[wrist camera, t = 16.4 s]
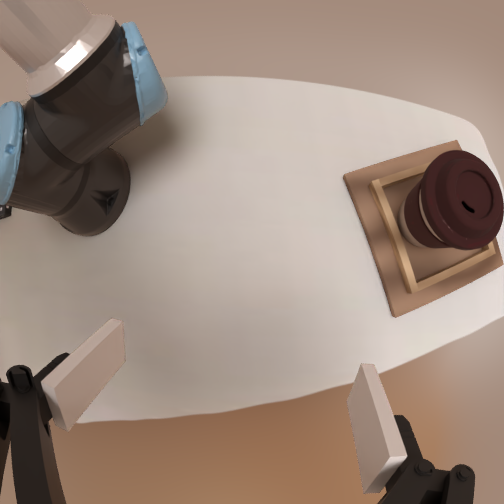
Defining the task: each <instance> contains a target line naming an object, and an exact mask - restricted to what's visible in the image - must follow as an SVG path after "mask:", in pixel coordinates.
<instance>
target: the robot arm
mask: <svg viewBox="0 0 504 504" xmlns="http://www.w3.org/2000/svg"><path fill="white" fill-rule="evenodd" d="M0 48H1V49H2V50H3V51H4V52H5V53H6V54H8V55H9V56H10V57H11V58H12V59H13V60H14V61H15V62H16V63H17V64H18V65H19V66H20V67H21V68H22V69H23V70H25V71H26V72H27V93H28V95H29V96H30V97H31V99H30V100H29V101H28V102H27V103H26V104H25V105H23V106H22V105H21V104H20V103H19V102H13V101H10V102H7V103H4V104H3V105H2V106H1V107H0V205H7V206H11V207H15V208H19V209H23V210H27V211H32V212H36V213H40V214H44V215H48V216H51V217H52V218H53V219H55V220H56V221H58V222H59V223H60V224H61V225H62V226H63V227H64V228H65V229H66V230H68V231H69V232H71V233H74V234H78V235H82V236H93V235H97V234H99V233H101V232H103V231H105V230H106V229H108V228H109V227H110V226H111V225H112V224H113V223H114V222H115V221H116V219H117V218H118V217H119V215H120V214H121V212H122V210H123V208H124V206H125V204H126V201H127V198H128V194H129V189H130V174H129V169H128V166H127V164H126V162H125V160H124V159H123V157H122V156H121V155H120V154H119V153H117V152H116V151H114V150H113V149H111V148H109V146H110V145H112V144H113V143H114V142H116V141H117V140H119V139H120V138H121V137H123V136H124V135H126V134H127V133H128V132H130V131H131V130H133V129H134V128H136V127H137V126H139V125H140V126H141V125H143V124H144V122H145V121H146V120H147V119H149V118H150V117H151V116H153V115H154V114H156V113H157V112H159V111H160V110H161V109H162V108H163V107H164V106H165V104H166V102H167V99H168V94H167V91H166V88H165V86H164V84H163V82H162V79H161V77H160V75H159V73H158V71H157V69H156V66H155V64H154V62H153V60H152V58H151V56H150V54H149V52H148V50H147V47H146V45H145V43H144V41H143V38H142V37H141V34H140V32H139V30H138V28H137V26H136V24H135V23H134V22H128V23H124V24H122V26H121V27H120V26H119V24H118V23H117V22H116V20H115V19H114V18H113V16H111V15H96V14H92V13H90V11H89V10H88V9H87V7H86V6H85V5H84V3H83V2H82V1H81V0H0ZM125 361H126V359H125V347H124V331H123V321H121V320H117V319H113V318H111V319H110V320H109V321H107V322H106V323H105V324H104V325H103V326H102V327H101V328H99V329H98V330H97V331H96V332H95V333H94V334H93V335H92V336H90V337H89V338H88V339H87V340H86V341H85V342H84V343H83V344H81V345H80V346H79V347H78V348H77V349H76V350H75V351H74V352H73V353H71V354H68V353H63V354H61V355H59V356H57V357H56V358H55V359H53V360H52V361H51V362H50V363H49V364H48V365H47V367H44V368H43V369H42V370H41V371H40V372H39V373H38V374H37V375H35V376H34V377H33V376H32V372H31V369H30V368H29V367H27V366H24V365H16V366H13V367H11V368H10V369H9V370H8V371H7V373H6V376H7V379H8V382H9V383H5V382H1V379H0V493H1V486H2V480H3V474H4V469H5V464H6V459H7V453H8V449H9V444H10V441H11V456H12V468H13V477H14V486H15V492H16V499H17V504H66V501H65V497H64V494H63V490H62V486H61V482H60V478H59V473H58V469H57V464H56V459H55V454H54V449H53V443H52V437H51V430H50V425H49V422H48V421H49V420H50V419H51V418H53V420H54V422H55V425H56V426H58V427H60V428H62V429H64V430H66V431H69V430H70V429H71V427H72V426H73V425H74V423H75V422H76V421H77V420H78V419H79V417H80V416H81V415H82V414H83V412H84V411H85V410H86V409H87V407H88V406H89V405H90V404H91V402H92V401H93V400H94V399H95V397H96V396H97V395H98V394H99V393H100V391H101V390H102V389H103V388H104V386H105V385H106V384H107V383H108V382H109V380H110V379H111V378H112V377H113V375H114V374H115V373H116V372H117V371H118V369H119V368H120V367H121V366H122V365H123V363H124V362H125ZM347 405H348V410H349V415H350V420H351V425H352V430H353V436H354V441H355V446H356V452H357V457H358V463H359V469H360V475H361V481H362V487H363V493H364V494H365V493H380V491H381V490H382V489H383V488H384V487H386V491H387V493H386V494H385V495H384V496H383V498H382V499H381V500H380V501H379V502H378V504H473V498H474V486H475V474H474V472H473V470H472V469H471V468H470V467H468V466H466V465H462V464H459V465H456V466H455V467H454V468H452V470H451V471H445V470H438V469H435V467H434V465H433V464H432V463H431V462H429V461H428V460H426V459H423V457H422V454H421V452H420V449H419V446H418V444H417V441H416V438H415V437H414V433H413V431H412V428H411V426H410V423H409V421H408V420H407V419H406V418H405V417H404V416H403V415H393V413H392V410H391V407H390V405H389V402H388V399H387V396H386V394H385V391H384V389H383V386H382V383H381V381H380V378H379V376H378V373H377V370H376V368H375V365H374V364H362V363H361V365H360V368H359V371H358V374H357V376H356V379H355V382H354V384H353V387H352V389H351V392H350V394H349V397H348V399H347Z"/></svg>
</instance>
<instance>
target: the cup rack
mask: <svg viewBox="0 0 504 504" xmlns="http://www.w3.org/2000/svg"><path fill="white" fill-rule="evenodd" d="M450 150H462V149H461V147H460V145H459V143H458V141H457V140H455V141H451V142H448V143H444V144H441V145H437V146H434V147H430V148H427V149H424V150H420V151H417V152H413V153H410V154H407V155H403V156H400V157H397V158H394V159H390V160H387V161H384V162H381V163H378V164H374V165H371V166H368V167H365V168H362V169H359V170H356V171H353V172H350V173H347V174H344V177H343V179H344V181H345V183H346V186H347V188H348V191H349V193H350V196H351V198H352V200H353V203H354V205H355V208H356V211H357V213H358V216H359V218H360V221H361V223H362V226H363V229H364V231H365V234H366V237H367V240H368V242H369V245H370V248H371V251H372V254H373V257H374V260H375V262H376V265H377V268H378V271H379V274H380V278H381V281H382V284H383V287H384V290H385V293H386V297H387V300H388V303H389V307H390V310H391V313H392V316H393V317H395V318H396V317H399V316H401V315H403V314H406V313H408V312H410V311H412V310H415V309H417V308H419V307H421V306H424V305H426V304H428V303H430V302H432V301H434V300H436V299H439V298H441V297H443V296H445V295H447V294H449V293H451V292H453V291H455V290H457V289H459V288H461V287H463V286H465V285H467V284H469V283H471V282H473V281H475V280H476V279H478V278H480V277H482V276H484V275H486V274H488V273H489V272H491V271H493V270H495V269H497V268H498V267H500V266H502V265H504V264H503V260H502V257H501V253H500V249H499V246H498V242H497V239H496V237H495V238H494V239H493V241H491V242H490V243H489V244H488V245H486V246H484V247H482V248H479V249H474V250H459V249H455V248H436V249H435V248H429V247H425V248H422V247H417V246H415V245H413V244H411V243H410V242H409V241H407V240H406V238H405V237H404V236H403V234H402V233H401V231H400V228H399V224H398V212H399V208H400V206H401V204H402V202H403V201H404V200H405V199H406V198H407V196H408V194H409V192H410V191H411V190H412V189H413V188H414V187H415V185H416V184H417V183H418V182H419V181H420V180H421V179H422V178H423V175H424V173H425V170H426V169H427V167H428V166H429V164H430V163H431V162H432V161H433V160H434V159H435V158H437V157H438V156H439V155H440V154H442V153H444V152H447V151H450Z"/></svg>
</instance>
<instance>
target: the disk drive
mask: <svg viewBox="0 0 504 504" xmlns="http://www.w3.org/2000/svg"><path fill="white" fill-rule="evenodd" d="M11 209H12V207H11V206H7V205H0V219H2V218H6V217H9V216H11Z"/></svg>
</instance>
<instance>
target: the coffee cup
mask: <svg viewBox="0 0 504 504" xmlns="http://www.w3.org/2000/svg"><path fill="white" fill-rule="evenodd" d="M503 214H504V203H503V197H502V192H501V189H500V186H499V184H498V181H497V179H496V177H495V176H494V174H493V172H492V171H491V170H490V168H489V167H488V166H487V165H486V164H485V163H484V162H483V161H482V160H481V159H479V158H478V157H476V156H475V155H473V154H471V153H469V152H466V151H462V150H450V151H447V152H444V153H442V154H440V155H439V156H438V157H437V158H435V159H434V160H433V161H432V162H431V163H430V164H429V166H428V167H427V169H426V170H425V173H424V175H423V178H422V179H421V180H420V181H419V182H418V183H417V184H416V185H415V187H414V188H413V189H412V190H411V191H410V192H409V194H408V196H407V198H406V199H405V200H404V201H403V202H402V204H401V206H400V208H399V212H398V224H399V228H400V231H401V233H402V234H403V236H404V237H405V238H406V240H407V241H409V242H410V243H411V244H413V245H415V246H417V247H422V248H425V247H429V248H435V249H436V248H455V249H459V250H474V249H479V248H482V247H484V246H486V245H488V244H489V243H490V242H491V241H493V239H494V238H495V237H496V235H497V234H498V232H499V230H500V227H501V224H502V221H503Z"/></svg>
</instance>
